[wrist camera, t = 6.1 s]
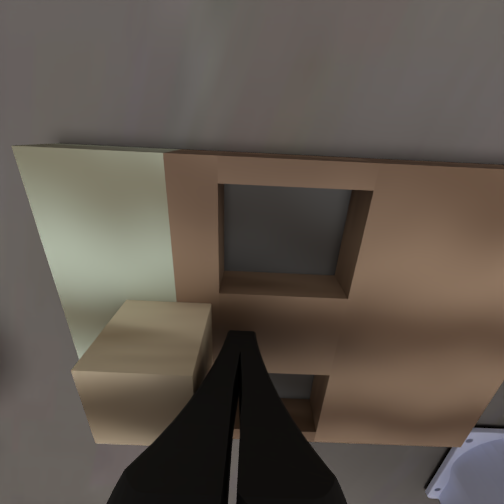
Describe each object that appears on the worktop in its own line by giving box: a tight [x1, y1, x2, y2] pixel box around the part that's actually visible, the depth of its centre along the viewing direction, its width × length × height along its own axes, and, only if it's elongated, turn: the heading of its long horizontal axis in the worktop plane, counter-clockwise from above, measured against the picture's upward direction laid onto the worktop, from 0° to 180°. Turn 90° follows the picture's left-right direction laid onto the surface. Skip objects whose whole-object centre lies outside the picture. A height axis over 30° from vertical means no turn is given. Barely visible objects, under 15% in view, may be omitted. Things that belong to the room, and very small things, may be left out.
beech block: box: [71, 300, 213, 446], centre depth 11 cm, size 4×4×4 cm
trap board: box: [12, 143, 504, 447], centre depth 14 cm, size 17×23×2 cm
